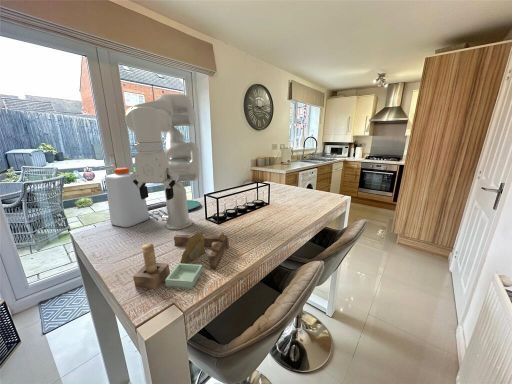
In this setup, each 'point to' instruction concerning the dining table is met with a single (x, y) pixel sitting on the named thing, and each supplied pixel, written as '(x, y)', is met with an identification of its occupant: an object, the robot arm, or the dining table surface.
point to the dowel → (149, 258)
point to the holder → (151, 277)
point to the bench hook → (208, 246)
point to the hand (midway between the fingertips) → (157, 198)
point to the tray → (184, 276)
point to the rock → (193, 249)
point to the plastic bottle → (125, 199)
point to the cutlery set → (190, 204)
